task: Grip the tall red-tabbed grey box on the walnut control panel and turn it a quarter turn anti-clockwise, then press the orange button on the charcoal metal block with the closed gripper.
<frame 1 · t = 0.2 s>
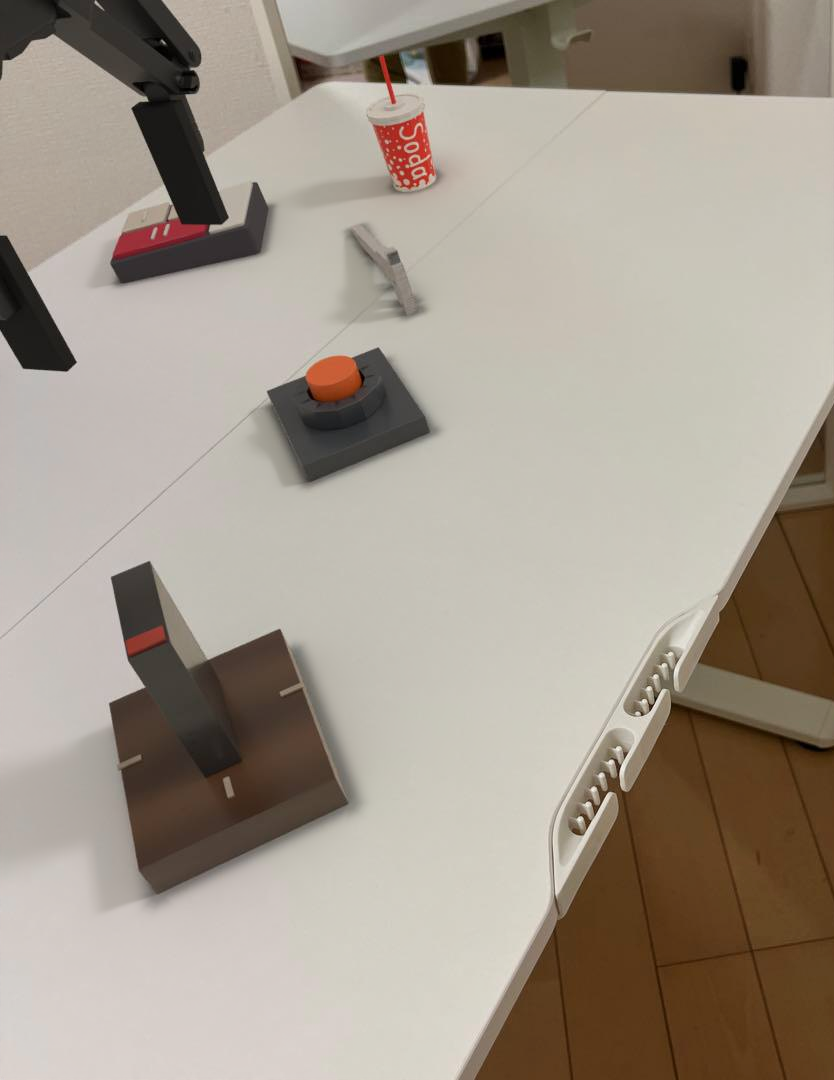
hand: (134, 288, 56), 25 cm above the table, tool pointing down, fingers open, 13 cm apart
button: (333, 379, 86), point 4 cm above the table, slide at 0.1 cm
panel: (234, 769, 65), on the table
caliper: (384, 275, 107), on the table
beverage cup: (416, 188, 120), on the table
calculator: (199, 251, 118), on the table
button block: (350, 424, 89), on the table
red-tabbed grey box: (176, 668, 60), point 8 cm above the table, hinge at 0.0°
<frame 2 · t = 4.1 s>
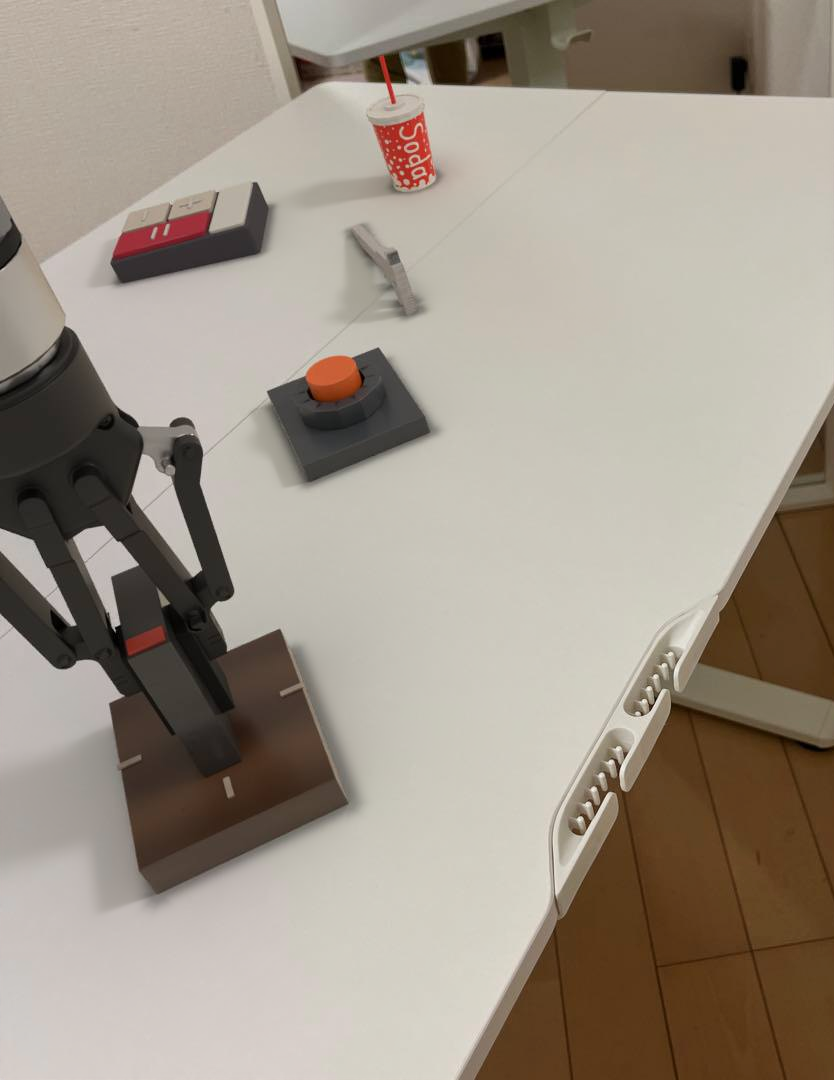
hand: (199, 705, 62), 5 cm above the table, tool pointing down, fingers closed on red-tabbed grey box, 2 cm apart
red-tabbed grey box: (176, 668, 60), point 8 cm above the table, hinge at -0.1°, touching gripper
everything else where it was.
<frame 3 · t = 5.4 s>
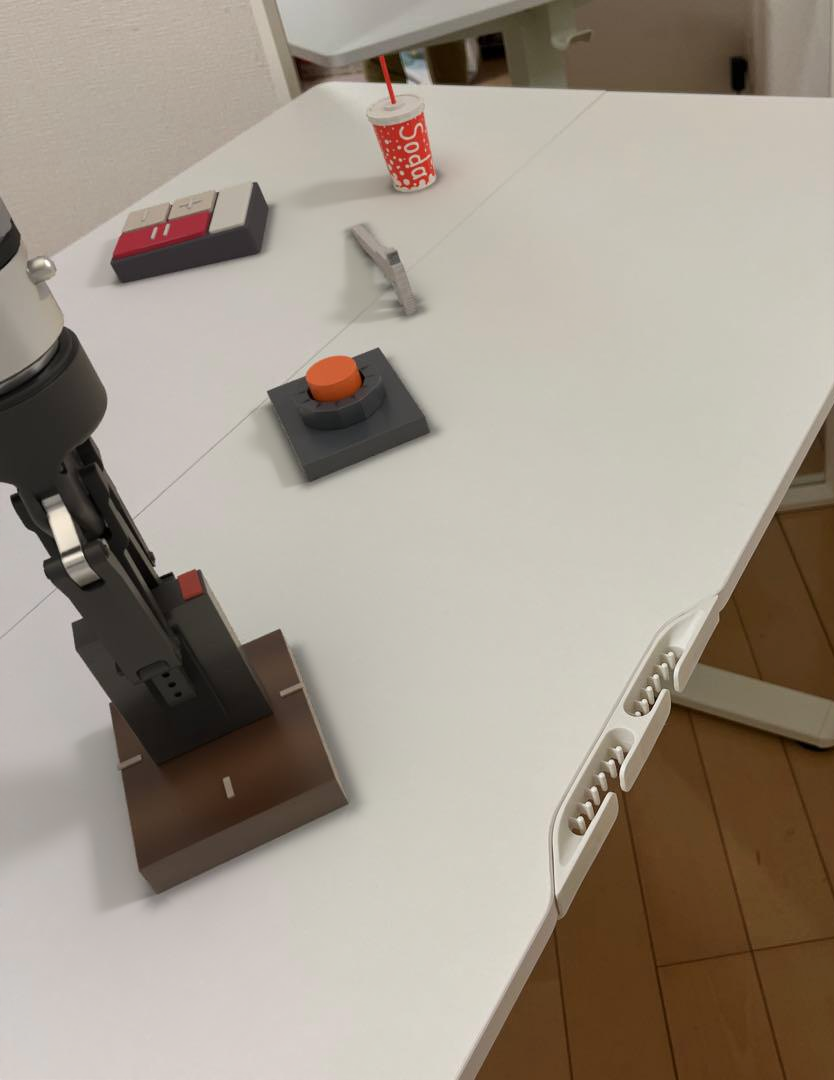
hand: (198, 705, 62), 5 cm above the table, tool pointing down, fingers closed on red-tabbed grey box, 2 cm apart
red-tabbed grey box: (176, 668, 60), point 8 cm above the table, hinge at 90.0°, touching gripper
everything else where it was.
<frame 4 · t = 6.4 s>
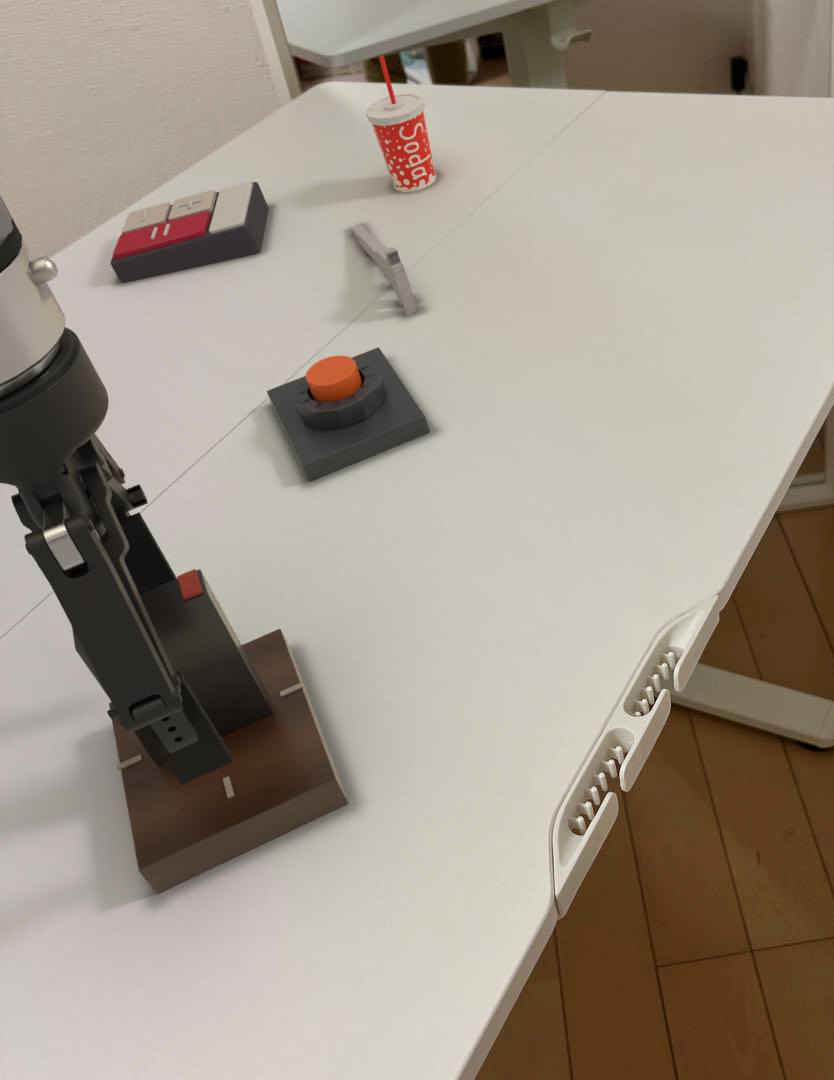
hand: (183, 680, 61), 7 cm above the table, tool pointing down, fingers open, 13 cm apart
red-tabbed grey box: (176, 668, 60), point 8 cm above the table, hinge at 89.9°
everything else where it was.
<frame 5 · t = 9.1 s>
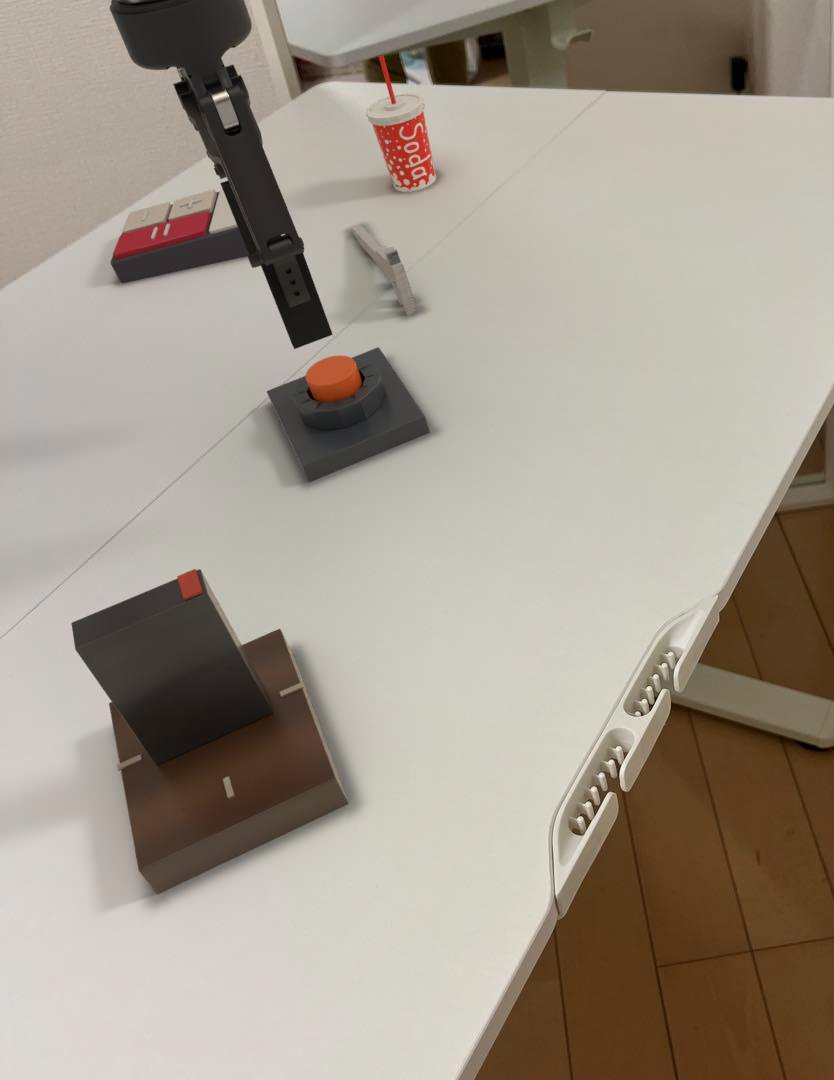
hand: (290, 297, 78), 13 cm above the table, tool pointing down, fingers open, 13 cm apart
nothing on the table moved.
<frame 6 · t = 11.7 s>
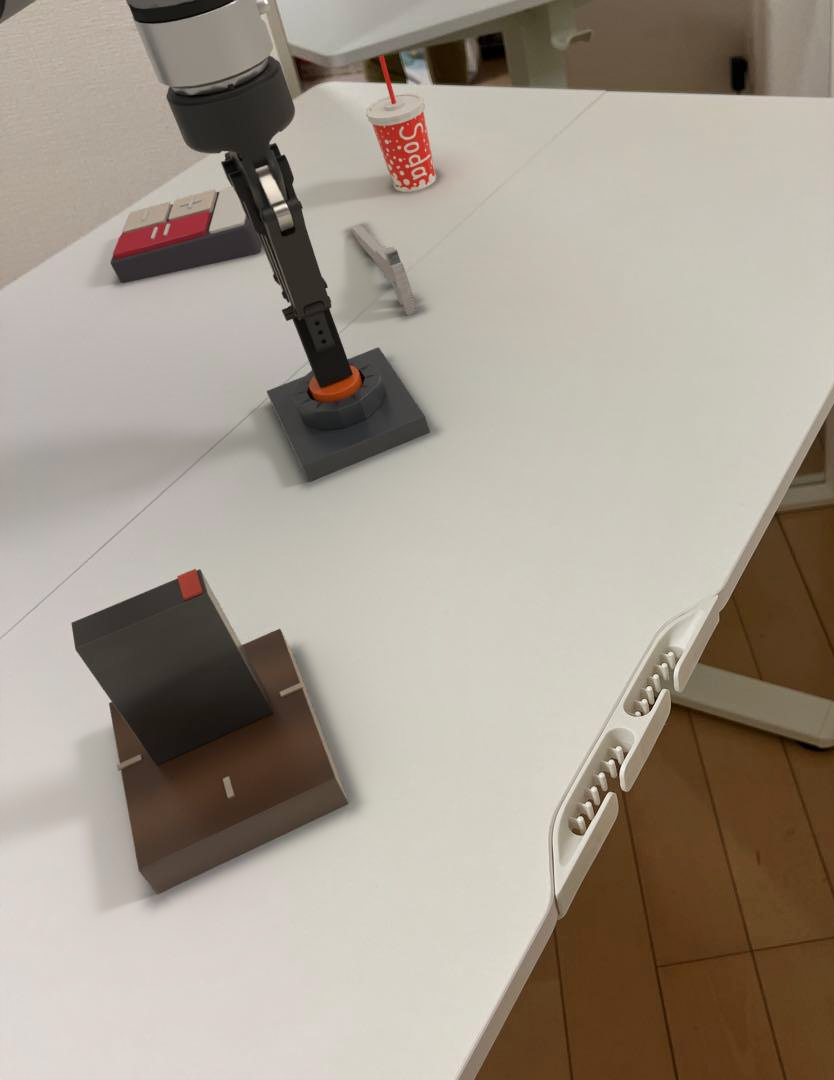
hand: (334, 376, 86), 5 cm above the table, tool pointing down, fingers closed
button: (337, 388, 86), point 4 cm above the table, slide at -0.8 cm, touching gripper
everything else where it was.
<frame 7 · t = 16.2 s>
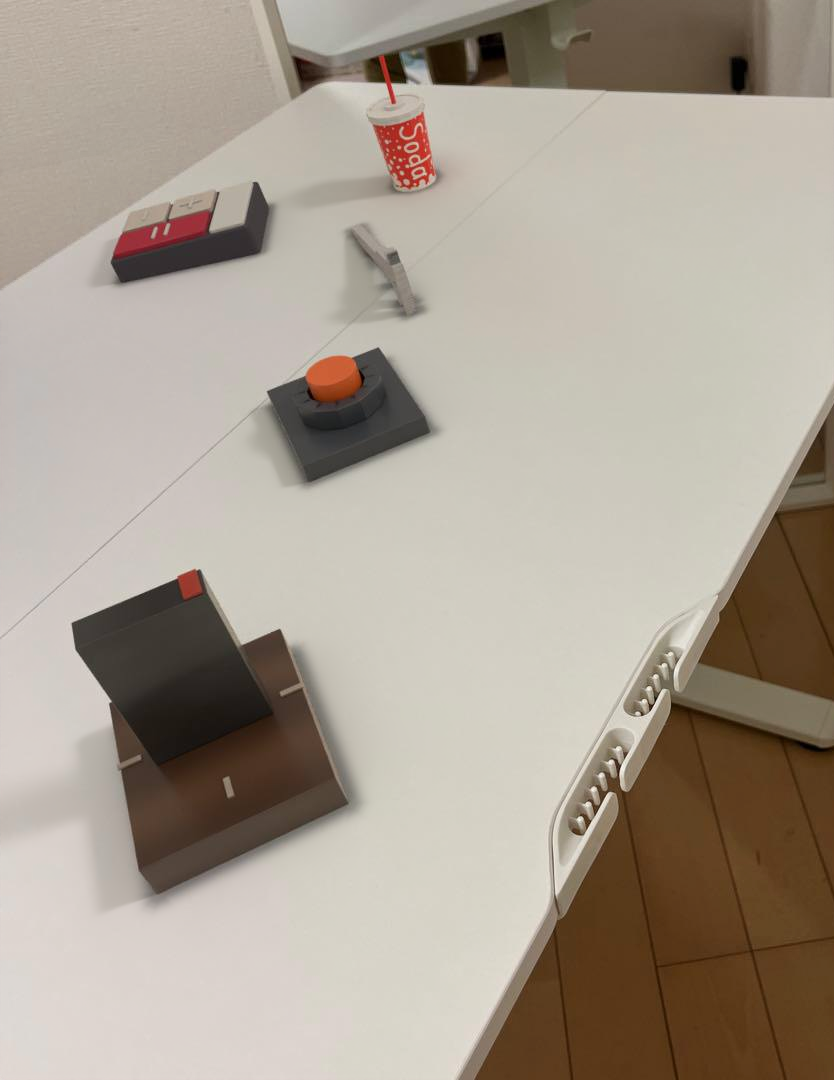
button: (333, 379, 86), point 4 cm above the table, slide at 0.1 cm
everything else where it was.
at the end: red-tabbed grey box at +90° (first picture: +0°); button pushed in 1.0 cm at the most during the clip, back to where it started at the end; button slide at 0.1 cm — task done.
